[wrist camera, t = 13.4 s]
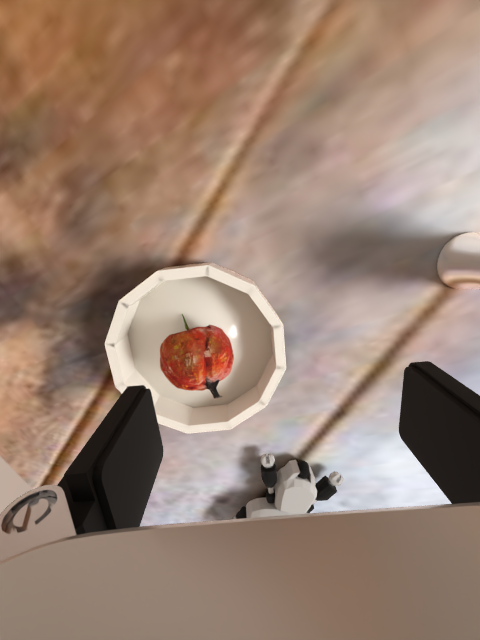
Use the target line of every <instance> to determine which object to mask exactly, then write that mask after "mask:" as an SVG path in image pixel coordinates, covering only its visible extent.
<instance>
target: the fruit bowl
mask: <svg viewBox="0 0 480 640" xmlns="http://www.w3.org/2000/svg"><path fill="white" fill-rule="evenodd" d="M182 314H183V316H184V318H185V320H186V323H187V325H188V327H189V329H192V328H195V327H206V326H208V325H214V326H216V327H219V328H221V329H222V330H223V331H224V333H225V334H226V335H227V336H228V338H229V339H230V342H231V345H232V350H233V355H234V360H233V365H232V369H231V372H230V374H229V375H228V376H227V377H225V378H224V379H223V380H221V381H219V383H218V385H217V392H218V393H219V395H220V396H222V397H221V398H216V399H214V397H213V395H212V393H211V391H210V390H208V389H206V390H203V391H196V390H194V391H189V390H183V389H179V388H177V387H175V386H174V385H173V384H172V383H170V381H169V380H168V379H167V378H166V377H165V375H164V373H163V372H162V370H161V368H160V346H161V344H162V343H163V341H164V340H165V339H166V338H167V337H168V336H169V335H171V334H175V333H179V332H182V331H185V330H186V329H185V323H184V320H183V316H182ZM186 331H187V330H186ZM105 348H106V352H107V356H108V360H109V364H110V368H111V372H112V376H113V380H114V384H115V387H116V388H117V389H118V390H119V391H120V392H121V393H123V392H124V391H125V389H126V388H127V387H128V386H138V385H144V386H145V387H146V389H150V390H151V394H152V398H153V403H154V408H155V412H156V417H157V422H158V423H159V424H162V425H164V426H167V427H170V428H173V429H176V430H178V431H181V432H184V433H187V434H190V433H200V432H209V431H219V430H229V429H232V428H234V427H235V426H237V425H238V424H240V423H241V422H243V421H244V420H246V419H248V418H249V417H251V416H252V415H254V414H255V413H257V412H258V411H260V410H261V409H263V408H265V407H266V406H267V404H268V403H269V401H270V399H271V397H272V395H273V393H274V391H275V389H276V387H277V385H278V383H279V382H280V380H281V378H282V376H283V374H284V372H285V370H286V358H285V344H284V330H283V323H282V322H281V320H280V318H279V316H278V315H277V313H276V312H275V311H274V309H273V308H272V307H271V305H270V304H269V302H268V301H267V300H266V298H265V296H264V295H263V294H262V293H261V291H260V290H259V289H258V287H257V286H256V284H255V283H254V282H253V281H252V280H250V279H248V278H246V277H243V276H242V275H240V274H238V273H236V272H234V271H232V270H229V269H226V268H224V267H221V266H218V265H216V264H214V263H212V262H210V263H201V264H188V265H183V266H174V267H166V268H163V269H161V270H158V271H156V272H155V273H154V274H152V275H151V276H150V277H149V278H147V279H146V280H145V281H143V282H142V283H141V284H140V285H138V286H137V287H136V288H134V289H133V290H132V291H131V292H129V293H128V294H127V295H126V296H124V297H123V298H122V299H120V300H119V302H118V305H117V308H116V311H115V314H114V317H113V320H112V323H111V326H110V329H109V332H108V335H107V338H106V341H105Z"/></svg>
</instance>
